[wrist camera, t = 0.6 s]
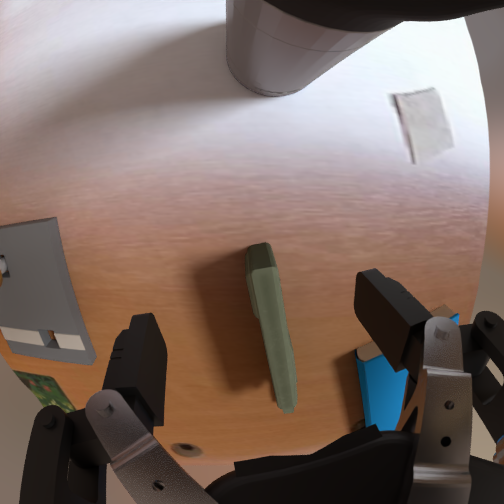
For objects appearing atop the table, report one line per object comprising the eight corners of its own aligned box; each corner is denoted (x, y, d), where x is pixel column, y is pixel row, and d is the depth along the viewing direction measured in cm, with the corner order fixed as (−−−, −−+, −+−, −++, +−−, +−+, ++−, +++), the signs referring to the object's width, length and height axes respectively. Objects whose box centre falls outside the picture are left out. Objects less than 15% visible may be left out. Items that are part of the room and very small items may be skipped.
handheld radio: (273, 239, 30) (296, 394, 39) (242, 245, 30) (275, 398, 39) (282, 265, 24) (303, 428, 33) (243, 272, 24) (279, 433, 33)
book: (459, 313, 32) (444, 404, 41) (443, 299, 36) (435, 391, 45) (359, 366, 33) (370, 443, 42) (348, 347, 37) (364, 428, 46)
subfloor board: (-22, 230, 26) (-31, 234, 24) (56, 216, 27) (46, 221, 25) (18, 345, 33) (12, 353, 31) (96, 356, 34) (91, 366, 32)
